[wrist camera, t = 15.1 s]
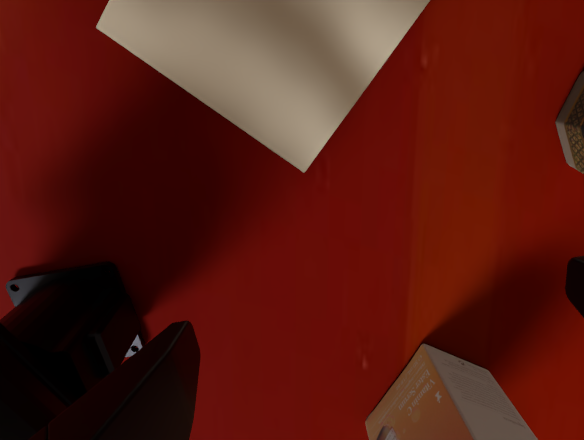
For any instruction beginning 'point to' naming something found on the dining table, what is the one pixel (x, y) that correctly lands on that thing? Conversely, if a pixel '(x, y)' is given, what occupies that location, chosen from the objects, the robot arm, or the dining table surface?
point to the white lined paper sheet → (267, 58)
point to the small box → (445, 403)
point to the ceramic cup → (573, 126)
